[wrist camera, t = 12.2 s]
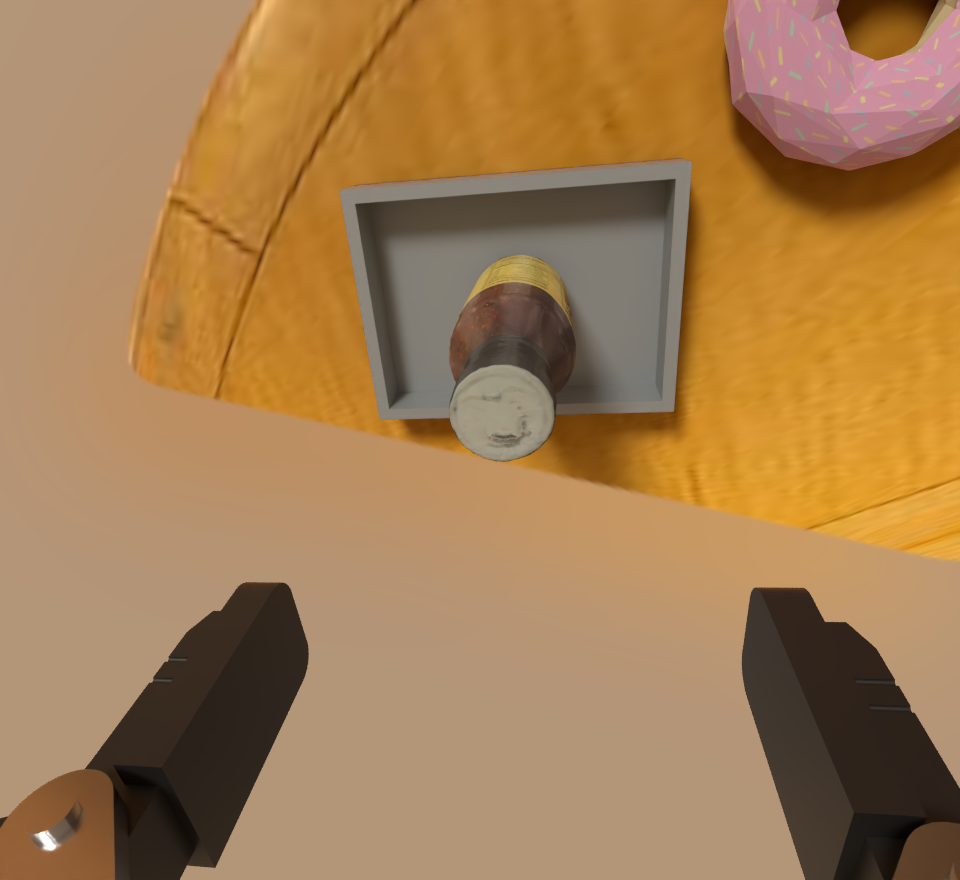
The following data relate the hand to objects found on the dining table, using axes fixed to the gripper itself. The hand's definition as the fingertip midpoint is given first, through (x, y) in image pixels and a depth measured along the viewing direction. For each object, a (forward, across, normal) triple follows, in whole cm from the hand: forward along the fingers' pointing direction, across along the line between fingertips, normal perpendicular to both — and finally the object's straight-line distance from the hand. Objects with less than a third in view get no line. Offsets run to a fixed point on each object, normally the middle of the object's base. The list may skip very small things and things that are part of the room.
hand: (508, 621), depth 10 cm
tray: (+33, +2, +2) cm, 33 cm away
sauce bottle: (+32, +2, +2) cm, 32 cm away
